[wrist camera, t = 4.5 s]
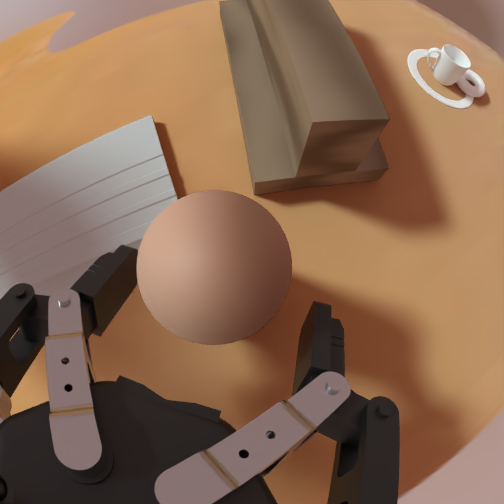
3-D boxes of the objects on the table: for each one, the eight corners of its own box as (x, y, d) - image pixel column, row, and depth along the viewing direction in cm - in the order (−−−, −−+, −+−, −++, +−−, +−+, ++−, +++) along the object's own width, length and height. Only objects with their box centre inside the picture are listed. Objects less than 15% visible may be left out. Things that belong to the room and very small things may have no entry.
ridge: (254, 195, 21) (257, 127, 13) (220, 16, 25) (215, -48, 17) (378, 180, 22) (429, 119, 14) (309, 11, 26) (319, -50, 18)
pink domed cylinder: (196, 337, 19) (146, 353, 10) (185, 258, 20) (131, 204, 11) (276, 325, 20) (304, 330, 10) (263, 246, 21) (276, 179, 11)
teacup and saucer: (480, 87, 25) (498, 67, 21) (471, 130, 24) (494, 108, 20) (415, 42, 26) (428, 17, 22) (396, 77, 24) (412, 49, 20)
